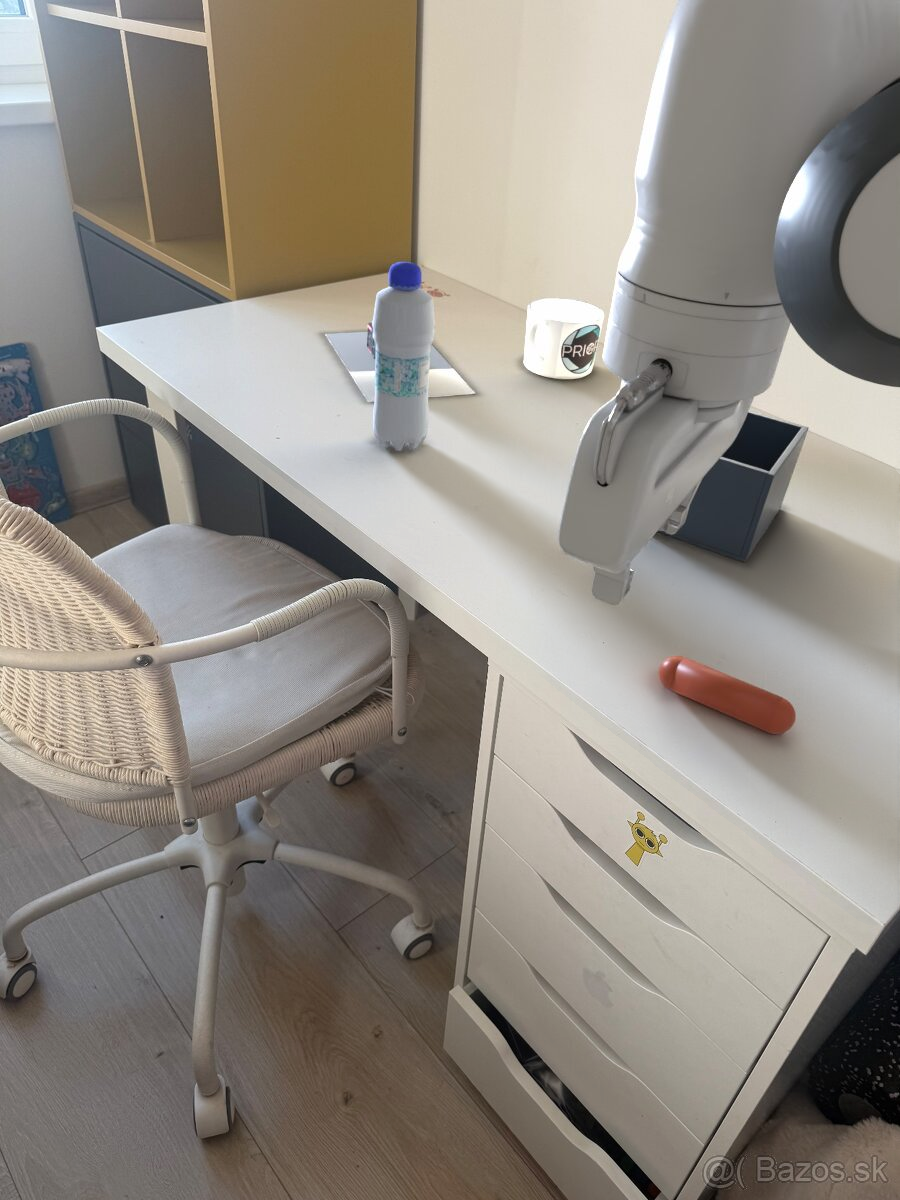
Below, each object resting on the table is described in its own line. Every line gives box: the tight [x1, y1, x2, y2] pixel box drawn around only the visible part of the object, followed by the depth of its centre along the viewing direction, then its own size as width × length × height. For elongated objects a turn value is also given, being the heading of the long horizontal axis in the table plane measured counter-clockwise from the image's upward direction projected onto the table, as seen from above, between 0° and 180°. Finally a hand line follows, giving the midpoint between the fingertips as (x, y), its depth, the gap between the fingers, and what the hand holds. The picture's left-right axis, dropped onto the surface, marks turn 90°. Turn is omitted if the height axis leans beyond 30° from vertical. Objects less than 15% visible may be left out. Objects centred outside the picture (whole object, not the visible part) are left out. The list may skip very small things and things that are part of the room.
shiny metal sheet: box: [324, 322, 476, 403], centre depth 115 cm, size 14×25×4 cm, turn 19°
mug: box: [523, 297, 605, 380], centre depth 115 cm, size 13×10×8 cm
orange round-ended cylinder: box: [658, 654, 797, 735], centre depth 63 cm, size 10×3×3 cm, turn 57°
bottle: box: [371, 261, 436, 452], centre depth 90 cm, size 7×7×20 cm
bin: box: [656, 410, 810, 563], centre depth 84 cm, size 13×13×10 cm
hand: (640, 559), depth 51 cm, fingers open, 8 cm apart
